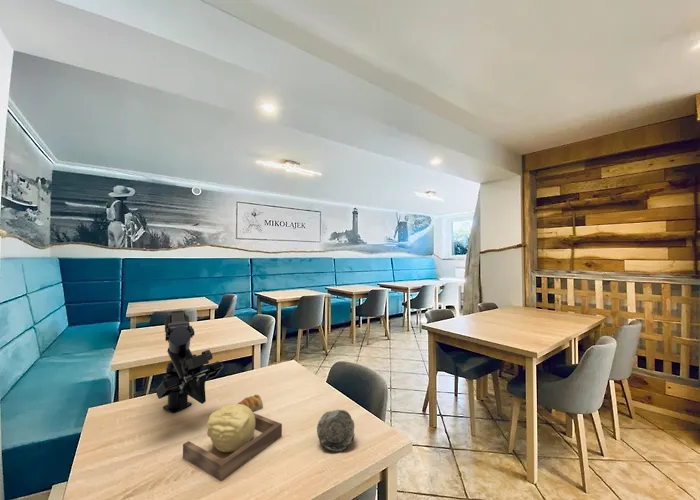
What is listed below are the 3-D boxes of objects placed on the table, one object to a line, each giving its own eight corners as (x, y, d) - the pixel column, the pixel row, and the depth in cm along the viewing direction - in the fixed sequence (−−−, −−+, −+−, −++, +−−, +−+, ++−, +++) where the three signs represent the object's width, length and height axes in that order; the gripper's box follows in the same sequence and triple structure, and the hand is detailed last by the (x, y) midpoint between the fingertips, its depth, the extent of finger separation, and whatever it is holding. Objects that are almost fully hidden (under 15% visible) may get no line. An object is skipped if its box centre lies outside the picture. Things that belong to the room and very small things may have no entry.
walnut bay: (182, 457, 77) (182, 444, 77) (245, 420, 94) (245, 409, 94) (221, 480, 69) (221, 465, 69) (281, 436, 87) (281, 423, 87)
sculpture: (200, 456, 78) (200, 415, 78) (226, 430, 90) (226, 393, 90) (240, 461, 76) (241, 419, 76) (262, 433, 88) (262, 396, 88)
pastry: (237, 418, 96) (237, 406, 96) (229, 411, 101) (229, 399, 101) (264, 408, 103) (264, 397, 103) (255, 401, 107) (255, 390, 107)
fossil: (325, 458, 77) (317, 414, 81) (315, 455, 84) (309, 416, 88) (362, 445, 81) (353, 404, 86) (349, 443, 89) (342, 406, 93)
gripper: (162, 352, 84) (185, 401, 79) (220, 336, 100) (242, 376, 95) (147, 374, 88) (167, 423, 82) (205, 356, 104) (225, 395, 99)
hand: (203, 402), depth 89 cm, fingers closed
